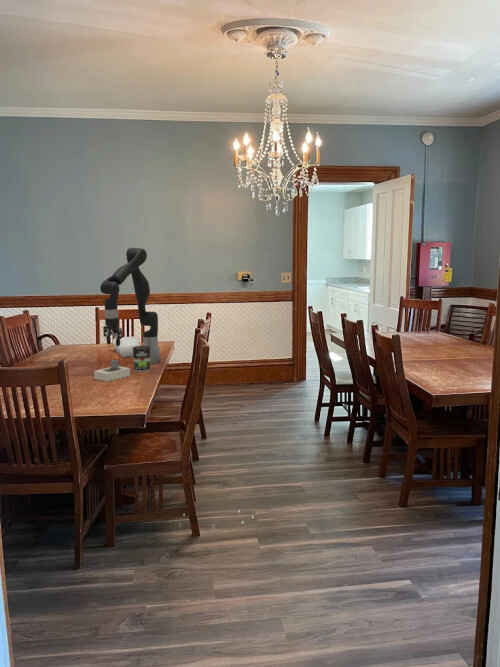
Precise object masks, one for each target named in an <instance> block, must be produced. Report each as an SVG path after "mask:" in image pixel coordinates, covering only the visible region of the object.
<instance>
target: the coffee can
mask: <svg viewBox="0 0 500 667" xmlns="http://www.w3.org/2000/svg"><path fill="white" fill-rule="evenodd" d="M132 360H133V361H132V362H133V372H138V373H143V372H144V373H146V372H149V371H151V370H152V369H151V364H150V347H149V346H143V345H141V346H136V347H133V357H132Z"/></svg>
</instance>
